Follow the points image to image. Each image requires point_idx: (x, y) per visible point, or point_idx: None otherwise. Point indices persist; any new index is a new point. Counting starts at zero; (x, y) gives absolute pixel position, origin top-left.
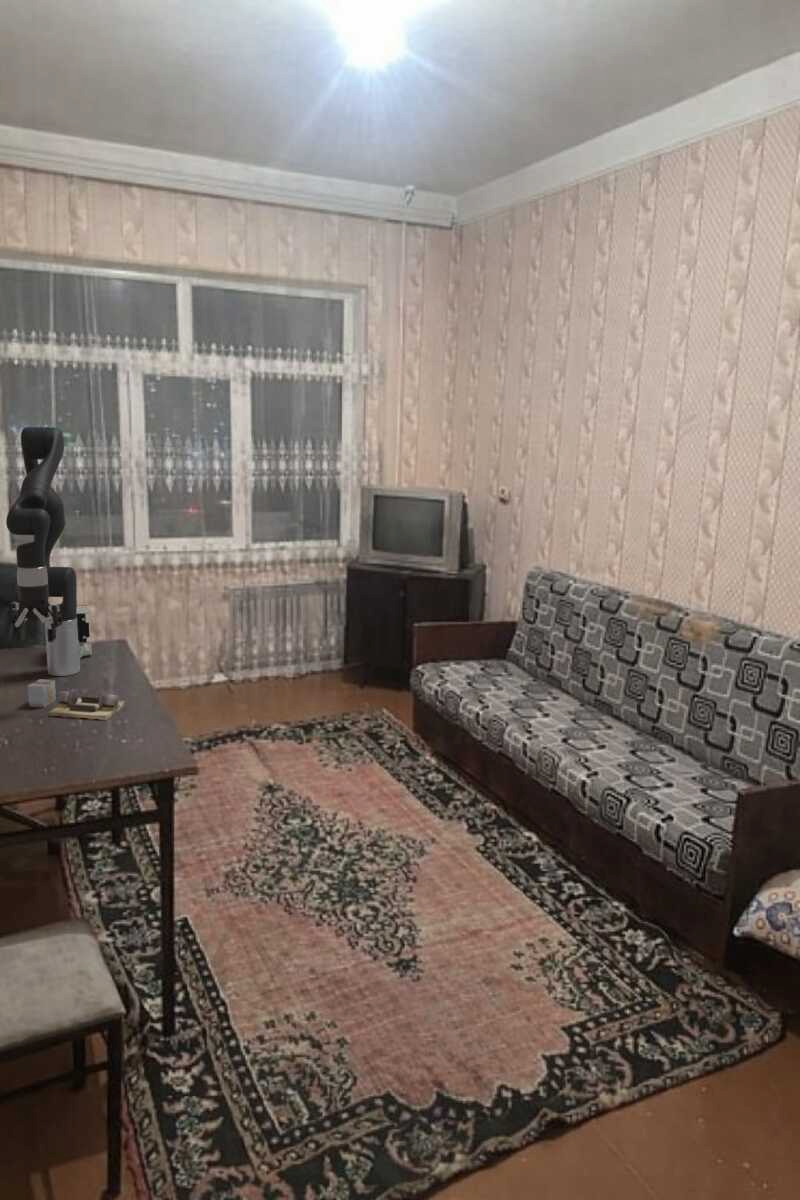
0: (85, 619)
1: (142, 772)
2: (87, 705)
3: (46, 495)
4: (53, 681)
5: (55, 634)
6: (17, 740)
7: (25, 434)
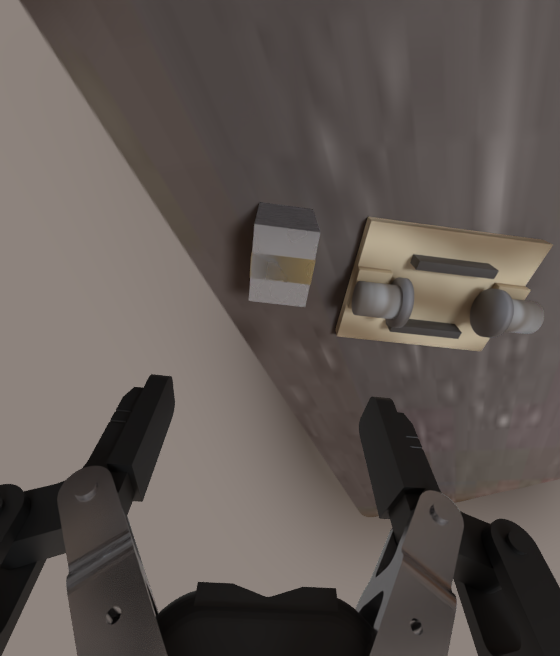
0: None
1: (515, 487)
2: (440, 332)
3: None
4: (317, 241)
5: (417, 448)
6: (316, 427)
7: None
